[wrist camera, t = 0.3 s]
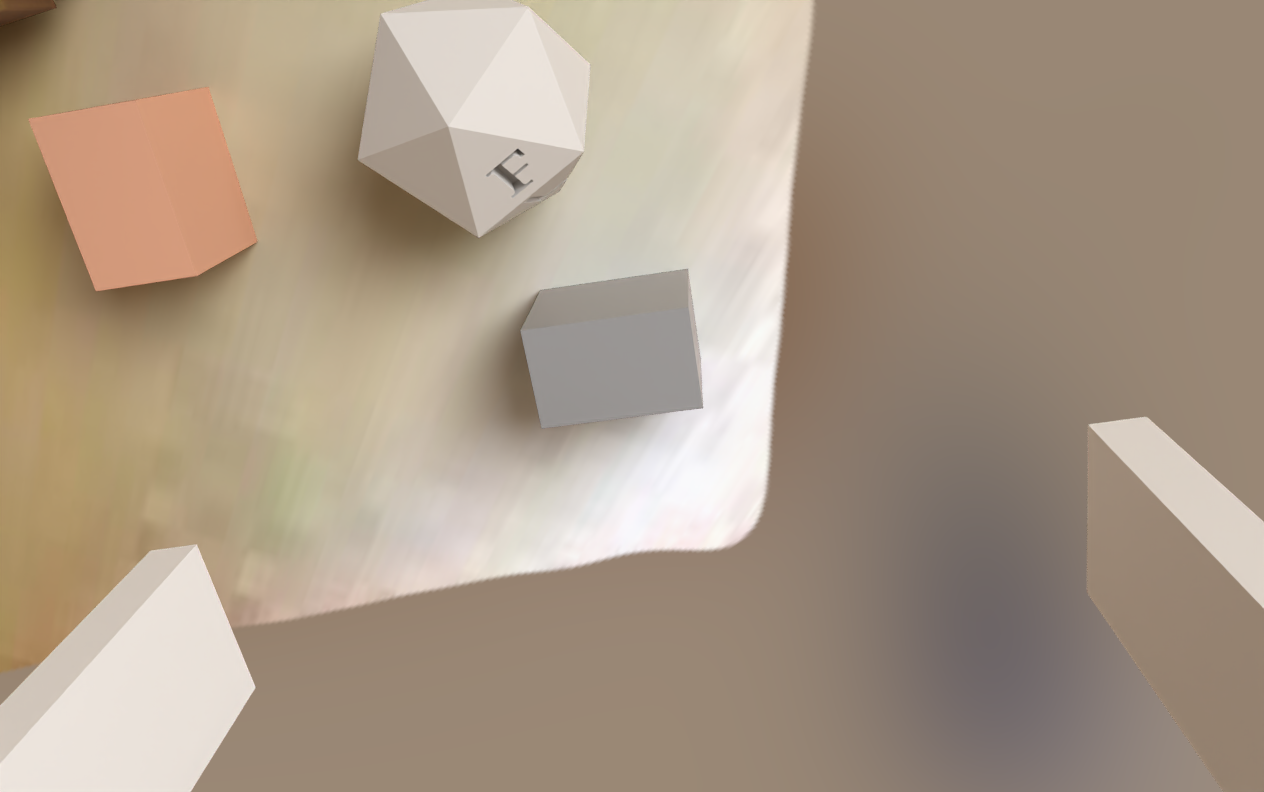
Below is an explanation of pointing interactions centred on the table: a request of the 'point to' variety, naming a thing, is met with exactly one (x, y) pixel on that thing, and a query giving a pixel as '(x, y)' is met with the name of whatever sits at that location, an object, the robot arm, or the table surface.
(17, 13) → the wooden toy train
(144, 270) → the salmon pink block
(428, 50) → the die
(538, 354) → the gray rectangular block
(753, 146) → the table surface
